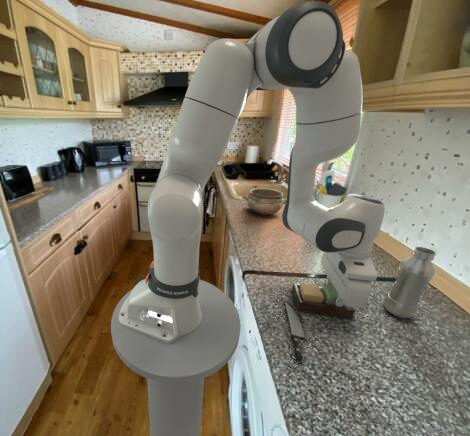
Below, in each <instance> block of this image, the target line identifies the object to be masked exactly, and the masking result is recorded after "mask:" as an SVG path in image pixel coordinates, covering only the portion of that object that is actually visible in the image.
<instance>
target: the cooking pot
mask: <svg viewBox="0 0 470 436" xmlns="http://www.w3.org/2000/svg"><path fill="white" fill-rule="evenodd" d="M283 196H284V192H282V191H281V190H278V189H275V188H271V187H253V188H250V189H249V194H248V196H245V195H242V196H241V198H242V199H243V200H244V201H246V204H247V206H248V208H250V209H251V211H253V212H255V213H256V214H258V215H260V216H269V215H271V214H272V215H273V214H276V213H277V212H279V211H280V210H281V209H282V208H283V206H284V205H285V204H286V200H287V199H284V198H283Z"/></svg>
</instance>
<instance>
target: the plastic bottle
mask: <svg viewBox="0 0 470 436" xmlns="http://www.w3.org/2000/svg"><path fill="white" fill-rule="evenodd" d="M436 253H437V252H436V251H434V250H432V249H430V248H428V247H422V246H416V247H415V248H414V250H413V252H412V253H411V256H408V257H406V258H404V259H403V260H402V261H400V263H399V266H398V271H397V275H396V279H395V282H394V284H393V286H392V288H391V289H390V291H389V293H388V294H387V295H386V296H385V298H384V300H383V306H384V308H385V310H386V311H387V312H388V313H390V314H391V315H393V316H395V317H397V318H401V319H411V318H413V317H414V316H415V314H416V313H417V312H418V311H417V310H418V306H419V305H418V304H419V301H420V298H421V295H422V293H423V291H424V290H425V288H426V287H427V285H428V284H429V283H430V282H431V280H432V279H433V277H434V276H435V274H436V269H435V267H434V265H433V263H432V262H433V261H434V259H435V256H436Z"/></svg>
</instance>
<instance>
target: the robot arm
mask: <svg viewBox="0 0 470 436" xmlns="http://www.w3.org/2000/svg"><path fill="white" fill-rule="evenodd" d="M360 66H361V65H360V61H359V57H358V55H356V53H355V52H353V51H352V50H349V49H346V43H345V40H344V31H343V26H342V23H341V20H340V17H339V15H338V14H337V12H336V10H335V9H334V8H333V7H332V6H331V5H330V4H329V3H327V2H325V1H320V0H309V1H304V2H301V3H298V4H294V5H292V6H291V7H289V8H288V9H286V10H285V11H284V12H283V13H281V14H280V15H278V16H276V17H274V18H272V19H271V20H269V21H268V22H266V23H265V24H264V25H263V26H262V27H261V28H260V29H258V30H257V32H256V33H254V34H253V35H252V36H251V37H250V38H249V39H248V40H247V41H245V42H241V41H240V40H238V39H234V38H226V37H225V38H219V39H216V40H214V41H212V42H211V43H210V44H209V45H208V46H207V48H206V49H205V51H204V53H203V54H202V56H201V59H200V61H199V62H198V65H197V66H196V68H195V70H194V72H193V74H192V77H191V79H190V82H189V84H188V87H187V89H186V92H185V95H184V98H183V101H182V104H181V107H180V110H179V112H178V115H177V119H176V122H175V124H174V128H173V130H172V133H171V136H170V139H169V142H168V146H167V149H166V153H165V156H164V159H163V162H162V165H161V168H160V170H159V174H158V177H157V180H156V183H155V184H154V187H153V190H152V191H151V193H150V196H149V198H148V201H147V220H148V223H149V224H148V226H149V231H150V232H149V233H150V236H151V242H152V250H153V261H151V263H150V264H149V269H148V270H147V272H146V276H145V278H142V277H140V278H139V277H136V278H135V284H134V285H135V286H134V287H133V288H132V289H133V290H132V289H131V290H132V292H131V293H130V296H129V297H128V298H127V299H126V300H125V302H124V304H123V305H122V307H121V310H120V313H119V324H120V325H121V326H123V327H125V328H128V329H131V330H133V331H136V332H138V333H141V334H143V335H146V336H149V337H151V338H154V339H156V340H159V341H161V342H164V343H167V344H170V343H172V342H174V341H175V340H176V339H177V338H179V337H181V336H183V335H186V334H189V333H191V332H193V331H194V330H195V329H196V328H197V327H198V326H199V325H200V323H201V320H202V312H201V309H200V305H199V298H198V293H199V289H200V280H201V277H200V276H201V274H200V273H201V272H200V269H199V262H200V261H199V260H200V244H201V237H202V227H203V218H204V217H203V214H204V203H203V193H204V189H205V187H206V185H207V183H208V181H209V180H210V177H211V176H212V174H213V172H214V171H215V169H216V167H217V165H218V164H220V163H219V162H221V160H222V158H223V157H224V153H225V151H226V149H227V147H228V144H229V143H230V140H231V138H232V135H233V133H234V131H235V129H236V126H237V124H238V121H239V119H240V117H241V114H242V113H243V110H244V107H245V105H246V102H247V101H248V99H249V98H250V96H251V95H252V94H253V92H254V91H283V90H288V92H290V94H291V95H292V98H293V101H294V104H295V141H294V144H293V147H292V149H291V151H290V156H289V163H288V177H287V193H286V194H287V195H286V199H285V200H286V201H285V202H286V203H285V204H284V207H283V210H282V215H281V218H282V219H281V220H282V223H283V226H284V227H285V228H286V229H287V230H289V231H290V232H292V233H294V234H297V235H298V236H299V237H300V238H302V239H303V240H305V241H306V242H307V243H309V244H310V245H312V247H313V246H314V247H315V249H318V250H320V251H321V252H323V254H322V256H321V260H320V265H321V267H322V269H323V270H324V271H325V273H326V284H329V285H334V287H335V289H336V291H337V292H338V296H339V297H338V298H336V297H335V299H334V303H335V305H336V306H339V307H342V306H343V304H344V305H345V306H347V307H351V308H354V309H362V308H364V307H365V306H366V304H367V301H368V299H369V297H370V294H371V291H372V287H373V286H372V285H373V283H372V282H376V281H377V279H378V277H379V276H378V273H377V269H376V268H375V266H374V262H373V258H372V256H371V255H372V252H373V243H374V241H375V240H376V239H377V238H378V237H379V233H380V232H381V231H380V230H381V227H382V224H383V223H384V217H385V204H384V203H383V202H382V201H381V200H379V199H377V198H374V197H371V196H368V195H365V194H361V193H360V194H359V193H349V194H347V196H346V197H345V199H344V200H343V201H342V202H341V203H338V204H337V205H335V206H332V207H327V206H325V205H322V204H321V203H319V202H318V201H317V200H316V198H315V197H314V188H315V180H316V172H317V168H318V167H319V165H320V164H324V163H326V162H331V161H333V160H335V159H338V158H340V157H342V156H344V155H345V154H346V153H347V152H349V151H350V150H351V149H352V148H353V147H354V146H355V145H356V143H357V141H358V138H359V135H360V132H361V127H362V113H363V82H362V73H361V67H360ZM163 336H166V337H163Z"/></svg>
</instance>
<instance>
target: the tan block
mask: <svg viewBox="0 0 470 436" xmlns="http://www.w3.org/2000/svg"><path fill="white" fill-rule="evenodd" d="M299 284H300V287H299V292H300V295H301V298H302V300H303V301H307V302H314V303H320V304H322V302H323V299H324V296H323V294H322V292H321V290H320V288H319V287H320V286H319V285H317V284H308V283H302V282H301V283H299Z"/></svg>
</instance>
